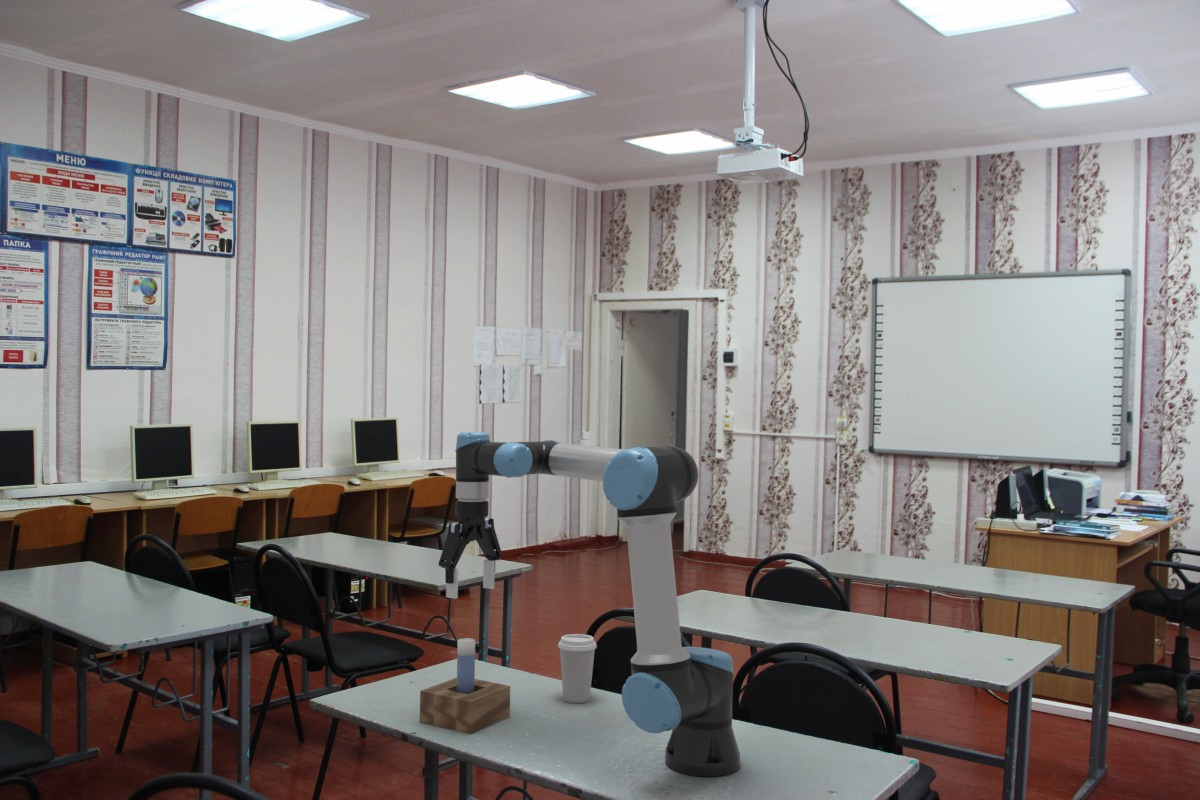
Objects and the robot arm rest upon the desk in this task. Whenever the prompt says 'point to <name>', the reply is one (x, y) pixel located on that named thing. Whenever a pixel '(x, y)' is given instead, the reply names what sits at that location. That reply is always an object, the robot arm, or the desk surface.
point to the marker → (466, 665)
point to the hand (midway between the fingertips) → (470, 593)
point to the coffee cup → (576, 666)
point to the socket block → (464, 705)
